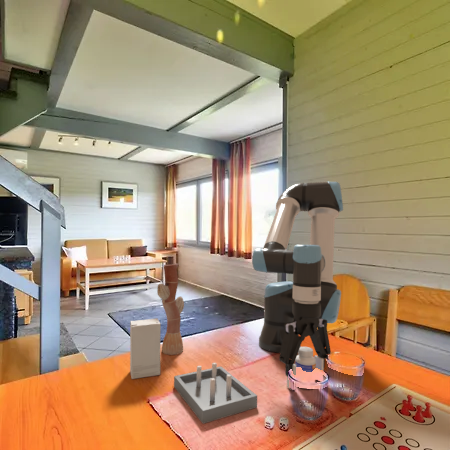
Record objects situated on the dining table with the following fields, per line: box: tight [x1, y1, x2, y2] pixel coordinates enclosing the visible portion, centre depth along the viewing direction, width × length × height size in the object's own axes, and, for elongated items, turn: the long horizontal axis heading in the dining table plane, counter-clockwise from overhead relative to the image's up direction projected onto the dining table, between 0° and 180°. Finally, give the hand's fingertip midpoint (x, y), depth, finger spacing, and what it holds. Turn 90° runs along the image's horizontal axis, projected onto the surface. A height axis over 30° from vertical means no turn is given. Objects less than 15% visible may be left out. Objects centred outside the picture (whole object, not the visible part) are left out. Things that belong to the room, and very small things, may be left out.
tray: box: [173, 362, 258, 424], centre depth 77 cm, size 18×14×6 cm
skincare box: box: [129, 318, 162, 380], centre depth 89 cm, size 8×6×15 cm
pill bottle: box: [294, 346, 316, 372], centre depth 84 cm, size 5×5×10 cm
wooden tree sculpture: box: [156, 263, 185, 356], centre depth 106 cm, size 10×7×30 cm
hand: (305, 384), depth 83 cm, fingers open, 9 cm apart
